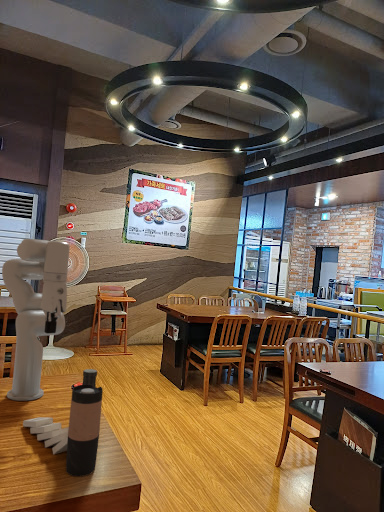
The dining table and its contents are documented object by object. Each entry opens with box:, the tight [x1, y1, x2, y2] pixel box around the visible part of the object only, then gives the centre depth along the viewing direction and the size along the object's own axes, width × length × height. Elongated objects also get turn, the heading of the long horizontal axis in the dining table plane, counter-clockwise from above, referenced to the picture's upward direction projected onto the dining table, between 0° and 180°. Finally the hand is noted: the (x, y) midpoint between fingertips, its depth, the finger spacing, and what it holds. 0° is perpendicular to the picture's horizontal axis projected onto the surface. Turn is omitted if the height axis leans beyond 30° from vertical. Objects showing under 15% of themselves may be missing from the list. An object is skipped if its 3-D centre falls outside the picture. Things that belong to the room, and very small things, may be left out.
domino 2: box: [29, 422, 62, 434], centre depth 111 cm, size 2×5×10 cm
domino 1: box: [22, 416, 54, 428], centre depth 115 cm, size 2×5×10 cm
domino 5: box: [51, 435, 68, 455], centre depth 101 cm, size 2×5×10 cm
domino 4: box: [44, 432, 68, 448], centre depth 104 cm, size 2×5×10 cm
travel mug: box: [65, 384, 104, 477], centre depth 96 cm, size 8×8×20 cm
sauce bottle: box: [81, 368, 98, 388], centre depth 112 cm, size 6×6×20 cm
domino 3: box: [36, 426, 69, 441], centre depth 107 cm, size 2×5×10 cm
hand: (50, 332), depth 127 cm, fingers closed
